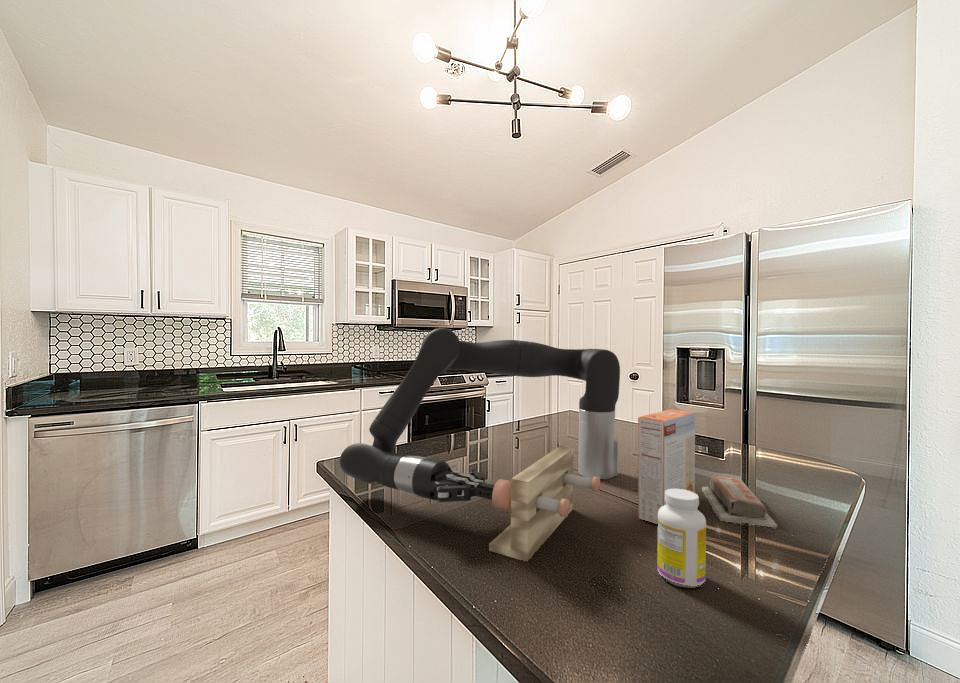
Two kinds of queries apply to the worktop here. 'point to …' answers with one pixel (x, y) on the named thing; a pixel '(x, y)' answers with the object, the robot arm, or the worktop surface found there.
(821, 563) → the worktop surface
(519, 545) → the knob panel
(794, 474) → the worktop surface
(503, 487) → the knob
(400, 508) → the worktop surface
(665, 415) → the cracker box
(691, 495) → the supplement bottle
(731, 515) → the packaged product
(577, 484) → the knob
